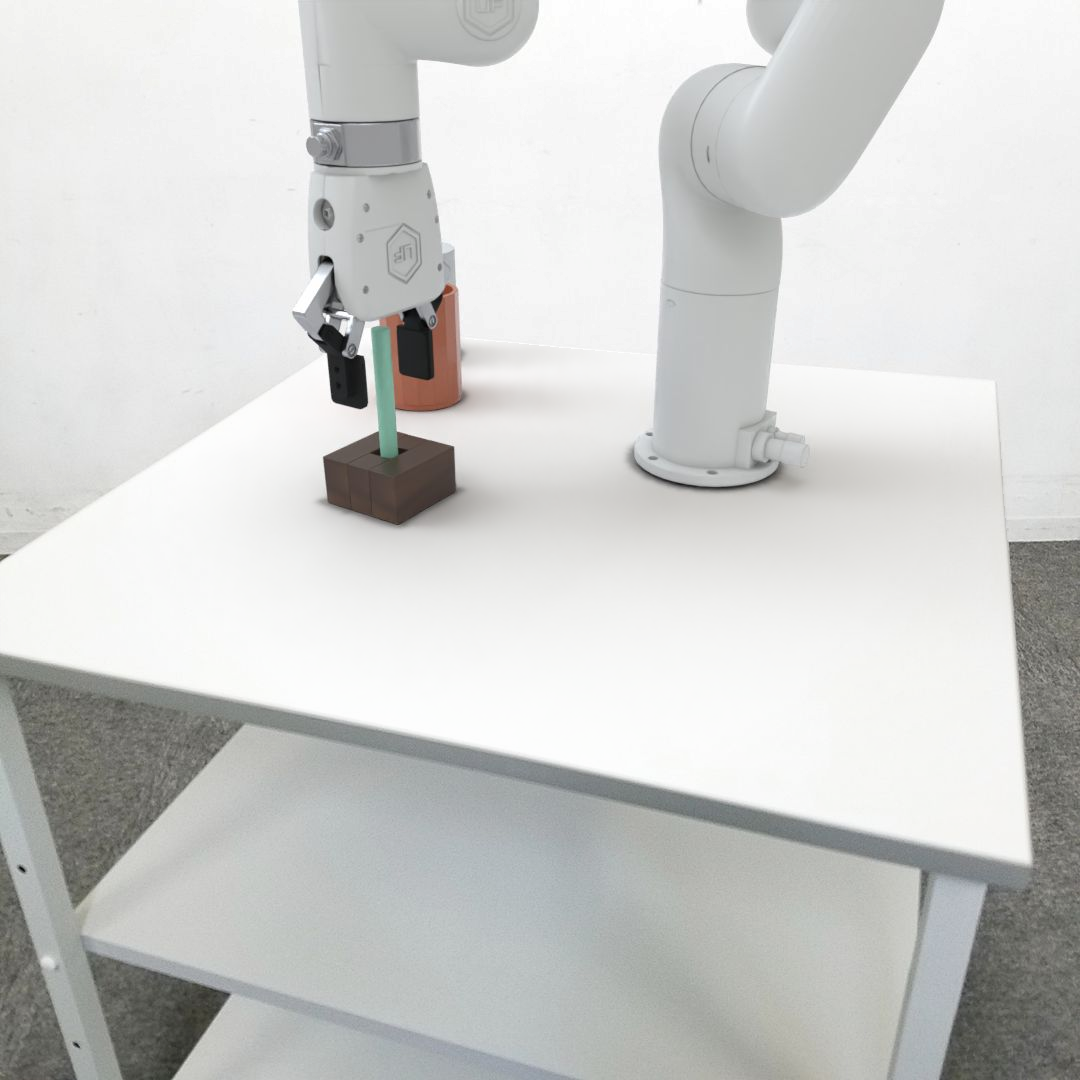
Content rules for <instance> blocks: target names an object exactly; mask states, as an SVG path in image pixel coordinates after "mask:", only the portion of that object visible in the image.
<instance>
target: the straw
mask: <svg viewBox="0 0 1080 1080" xmlns="http://www.w3.org/2000/svg"><path fill="white" fill-rule="evenodd" d="M370 336H371V347H372V350H371V351H372V361H373V362H372V363H373V371H374V372H373V375H374V387H375V388H374V389H375V400H376V411H377V412H376V413H377V414H376V415H377V425H378V431H379V440H380V453H381V456H382V457H385V458H389V459H392V458H394V457H396V456H398V442H397V432H398V431H397V430H398V429H397V415H396V408H395V399H394V384H393V370H392V355H391V341H390V328H389V327H387V326H379V325H375V326H372V327H371V328H370Z"/></svg>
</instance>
